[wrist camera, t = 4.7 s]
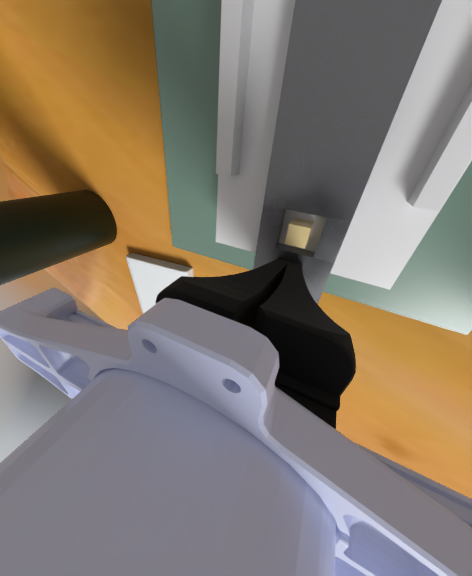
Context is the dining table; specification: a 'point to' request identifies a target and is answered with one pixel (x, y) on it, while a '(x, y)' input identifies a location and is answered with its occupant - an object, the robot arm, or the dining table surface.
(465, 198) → the green base plate
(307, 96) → the strap
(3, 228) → the wine bottle
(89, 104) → the dining table surface
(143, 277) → the external hard drive
